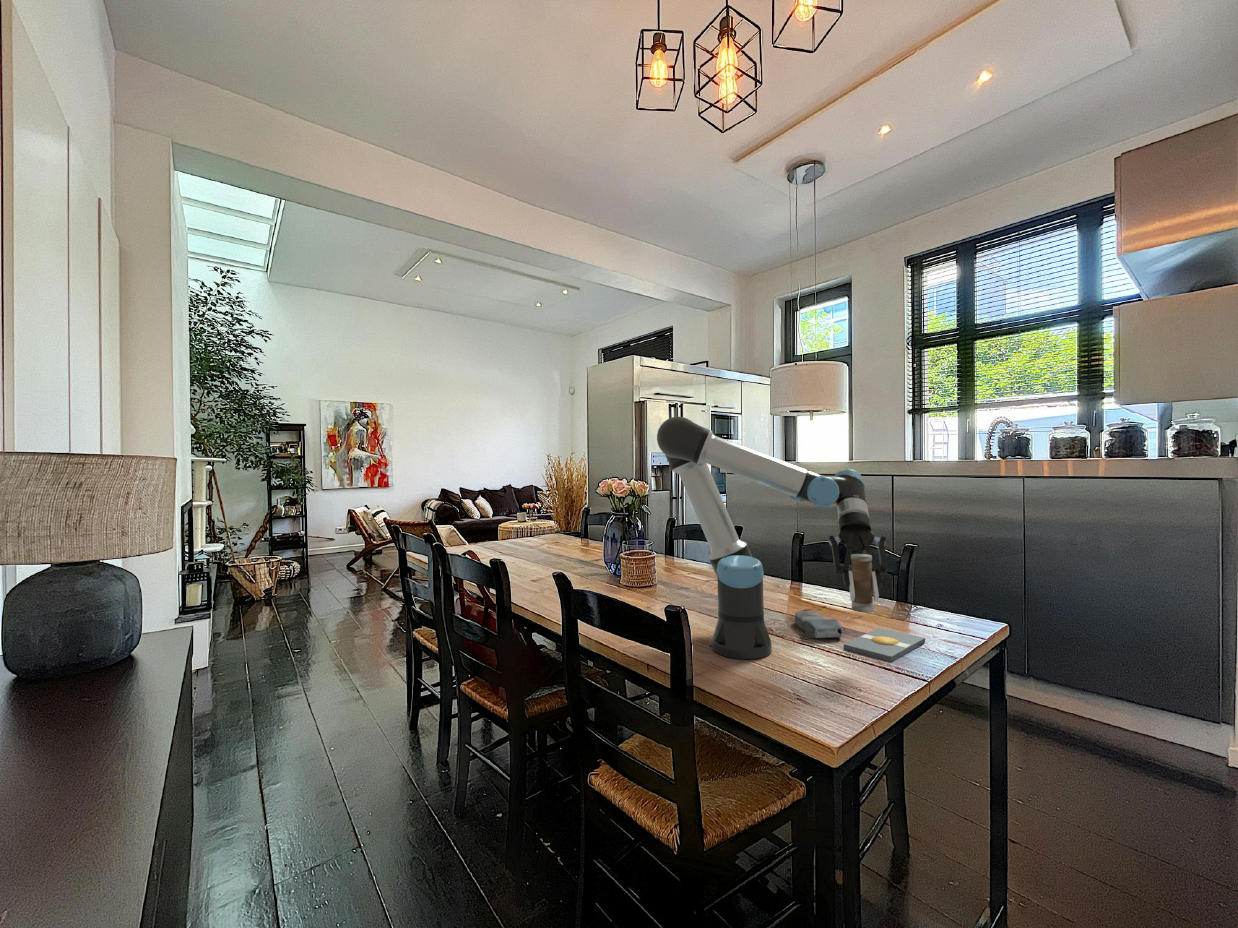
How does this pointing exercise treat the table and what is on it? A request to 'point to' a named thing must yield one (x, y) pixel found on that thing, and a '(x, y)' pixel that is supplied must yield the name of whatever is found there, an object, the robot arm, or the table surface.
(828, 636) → the handheld device
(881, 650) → the board
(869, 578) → the tall brown post
